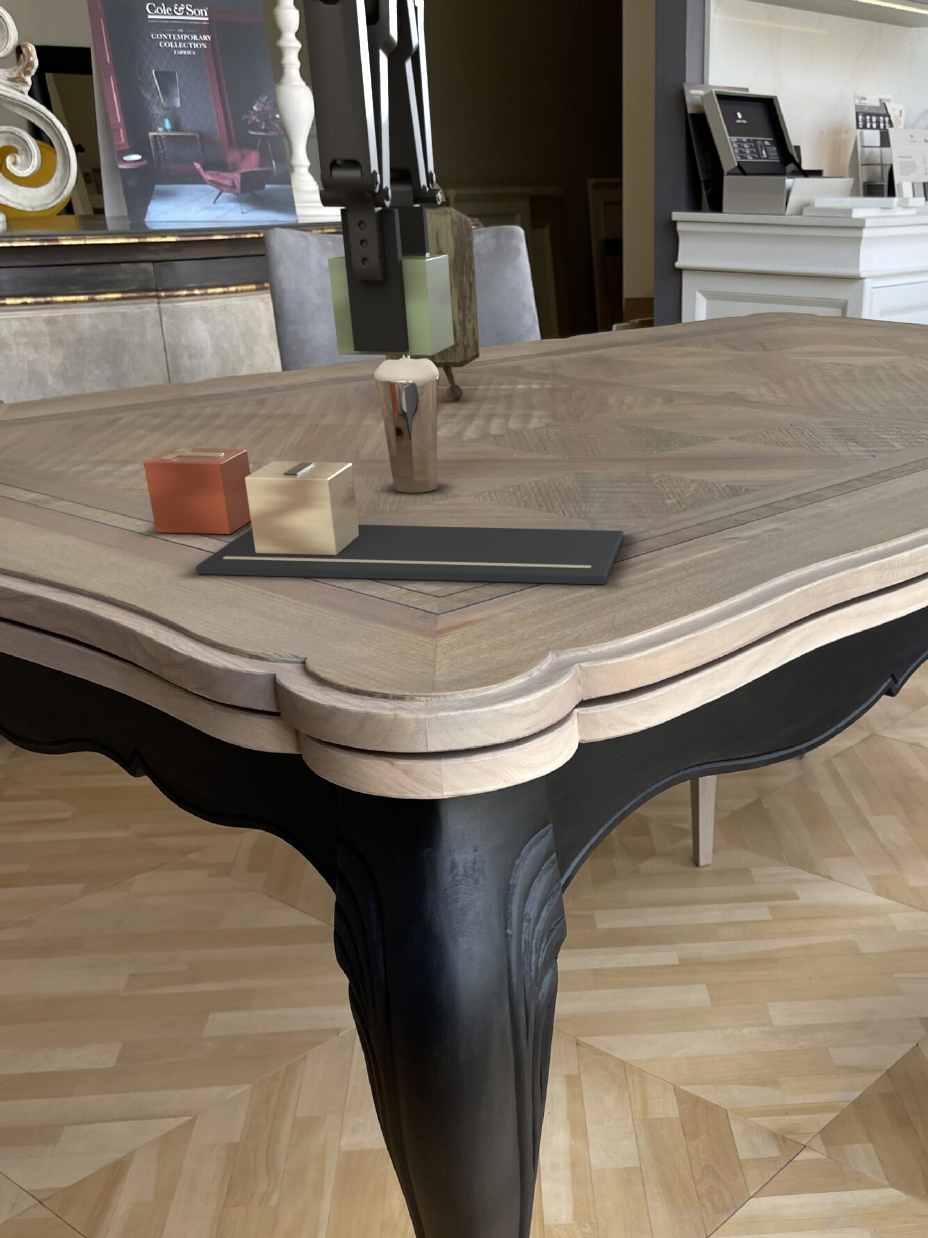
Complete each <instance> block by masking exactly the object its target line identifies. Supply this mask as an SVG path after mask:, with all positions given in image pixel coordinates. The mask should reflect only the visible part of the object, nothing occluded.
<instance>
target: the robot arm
mask: <svg viewBox="0 0 928 1238" xmlns="http://www.w3.org/2000/svg"><path fill="white" fill-rule="evenodd" d="M302 2H303V12H304V21H305V31H306V41H307V51H308V52H307V53H308V61H309V70H310V71H309V72H310V81H311V90H312V91H311V92H312V100H313V111H314V120H315V121H314V122H315V130H316V131H315V132H316V140H317V149H318V159H319V167H320V168H319V169H320V174H319V175H320V182H321V186H322V188H323V189H318V195H319V201H320V204H321V205H322V207H324V208H339V212H340V213H339V214H340V221H341V230H342V243H343V253H344V256H345V263H346V273H347V283H348V293H349V303H350V313H351V323H352V333H353V343H354V351H389V352H406V351H409V341H408V329H407V317H406V304H405V292H404V280H403V267H402V253H429V240H428V226H427V213H426V207H427V205H428V206H434V205H435V206H436V205H437V206H439V205H441V203H442V201H441V190H442V188H441V189H434V186H435V182H436V174H435V170H434V155H433V140H432V128H431V127H432V125H431V114H430V100H429V87H428V85H429V84H428V73H427V72H428V71H427V58H426V43H425V31H424V30H425V29H424V25H425V24H424V22H425V21H424V20H425V19H424V18H425V17H424V16H425V15H424V13H425V12H424V9H425V6H424V5H425V3H424V0H302ZM419 205H423V206H419ZM424 205H426V206H424Z"/></svg>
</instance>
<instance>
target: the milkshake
mask: <svg viewBox="0 0 928 1238" xmlns="http://www.w3.org/2000/svg"><path fill="white" fill-rule="evenodd" d="M373 377H374V380H375V386H376V390H377V396H378V401H379V407H380V411H381V416H382V422H383V427H384V432H385V439H386V446H387V451H388V458H389V465H390V470H391V477H392V482H393V489H394V491H396V492H401V493H406V494H407V493H408V494H420V493H429V492H433V491H436V490H438V416H439V415H438V414H439V392H440V391H439V388H440V387H439V386H440V385H439V383H440V373H439V369H438V368H437V367H436V366H435V365H434V363H433V362H432V361H430V360H429V359H425V358H424V359H410V355H403V358H401V359H399V360H386V359H385V360H384V361H382V362H381V364H379V366H378V367H377V368H376V370H375V371H374V376H373Z"/></svg>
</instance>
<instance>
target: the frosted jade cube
mask: <svg viewBox="0 0 928 1238" xmlns="http://www.w3.org/2000/svg"><path fill="white" fill-rule="evenodd" d="M327 263H328V270H329V271H328V273H329V280H330V290H331V299H332V308H333V316H334V317H333V319H334V327H335V335H336V345H337V354H338V355H346V356H347V355H356V356H357V355H358V356H359V355H360V356H386V355H420V356H432V355H434V354H436V353H438V352H440V351H442V350H444V349H446V348H448V347H450V346H452V345H454V337H453V322H452V308H451V294H450V279H449V265H448V255H447V254H429V253H402V267H403V280H404V292H405V304H406V317H407V329H408V341H409V351H406V352H389V351H354V343H353V333H352V323H351V313H350V303H349V293H348V283H347V273H346V263H345V255H341V256H336V257H330V258H328V259H327Z"/></svg>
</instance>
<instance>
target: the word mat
mask: <svg viewBox="0 0 928 1238" xmlns="http://www.w3.org/2000/svg"><path fill="white" fill-rule="evenodd" d="M358 529H359V536H358V537H357V538H356V539H354V540H353V541H352V542H351V543H350V544H349V545H348V546H346V547H345V548H344V549H343V550H342V551H341V552H340V553H338V554H337V555H297V554H257V553H256V552H255V545H254V538H253V531H252V527H251V528H250V529H249V530H247V531H245V532H244V533H243V534H241V535H240V536H238V537H236V538H235V539H234V540H232V541H231V542H229V543H228V544H226V545H224V546H223V547H222V548H220V549H219V550H217V551H216V552H214V553H213V554H212V555H210V556H209V557H207V558H205V559H204V560H203V561H201V562H200V563H198V564H197V565H195V569H196V574H197V575H217V576H219V575H220V576H253V577H255V576H256V577H292V578H293V577H295V578H297V577H298V578H327V579H329V578H330V579H331V578H332V579H333V578H335V579H341V578H342V579H367V580H368V579H370V580H372V579H373V580H375V579H376V580H406V581H407V580H410V581H413V580H414V581H445V582H446V581H447V582H449V581H451V582H492V583H525V584H526V583H528V584H563V585H564V584H565V585H566V584H567V585H600V586H601V585H603V586H604V585H606V581H607V578H608V576H609V575H610V571H611V570H612V566H613V564H614V562H615V559H616V557H617V554H618V552H619V549H620V547H621V545H622V543H623V539H624V531H623V530H608V529H607V530H606V529H605V530H603V529H561V528H560V529H559V528H523V527H522V528H521V527H520V528H518V527H517V528H515V527H479V526H478V527H477V526H476V527H473V526H433V525H395V524H394V525H393V524H390V525H387V524H358Z"/></svg>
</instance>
